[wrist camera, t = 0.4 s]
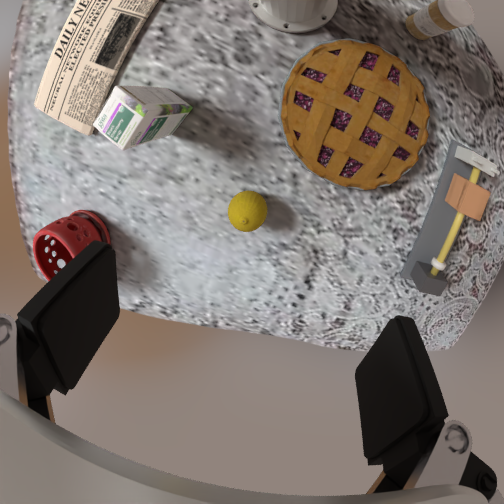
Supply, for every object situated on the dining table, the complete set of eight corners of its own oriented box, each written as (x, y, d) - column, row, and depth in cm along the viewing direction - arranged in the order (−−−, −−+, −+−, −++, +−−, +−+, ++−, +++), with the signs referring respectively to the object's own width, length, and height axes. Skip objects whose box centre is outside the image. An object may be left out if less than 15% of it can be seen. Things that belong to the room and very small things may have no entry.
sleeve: (454, 172, 35) (470, 181, 31) (474, 182, 35) (490, 192, 31) (444, 200, 38) (459, 212, 33) (464, 209, 38) (479, 221, 33)
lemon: (275, 196, 43) (273, 215, 36) (257, 224, 46) (251, 247, 39) (244, 177, 42) (235, 193, 35) (227, 206, 45) (215, 227, 38)
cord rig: (451, 139, 34) (474, 147, 28) (483, 157, 34) (507, 168, 28) (399, 275, 47) (411, 298, 41) (431, 282, 47) (445, 305, 41)
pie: (261, 156, 41) (257, 163, 36) (302, 23, 30) (304, 13, 25) (391, 203, 41) (402, 215, 37) (436, 82, 30) (451, 81, 26)
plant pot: (84, 190, 46) (43, 215, 36) (127, 240, 51) (93, 275, 40) (59, 228, 51) (24, 256, 41) (97, 271, 56) (67, 305, 45)
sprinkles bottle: (434, 30, 26) (480, 14, 14) (421, 45, 28) (467, 31, 16) (413, 10, 25) (453, -14, 13) (398, 24, 27) (438, 1, 15)
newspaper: (95, 133, 41) (86, 136, 39) (35, 101, 38) (25, 102, 36) (199, -47, 24) (194, -53, 22) (117, -58, 21) (110, -62, 18)
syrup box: (172, 136, 40) (123, 153, 28) (145, 115, 39) (90, 125, 26) (194, 107, 38) (150, 111, 25) (165, 86, 36) (113, 83, 24)
